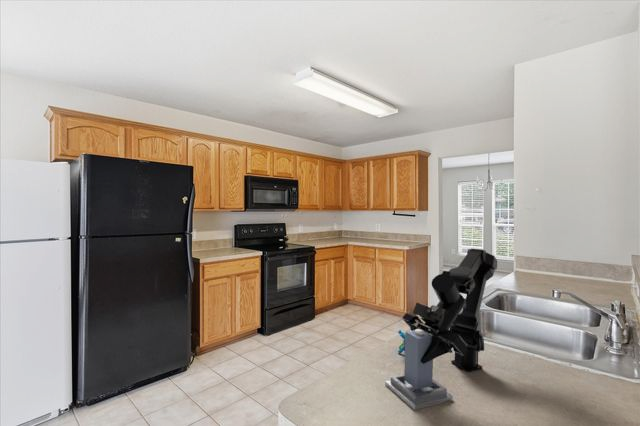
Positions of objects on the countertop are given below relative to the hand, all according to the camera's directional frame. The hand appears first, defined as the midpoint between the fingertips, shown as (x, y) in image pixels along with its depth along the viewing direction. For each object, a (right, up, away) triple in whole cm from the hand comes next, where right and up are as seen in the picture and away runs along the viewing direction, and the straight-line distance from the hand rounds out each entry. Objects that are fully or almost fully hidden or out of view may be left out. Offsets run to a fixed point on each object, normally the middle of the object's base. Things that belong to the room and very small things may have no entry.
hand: (414, 358), depth 82 cm
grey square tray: (+1, -9, 0) cm, 9 cm away
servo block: (+1, -7, +1) cm, 7 cm away
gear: (+5, -10, +24) cm, 26 cm away
